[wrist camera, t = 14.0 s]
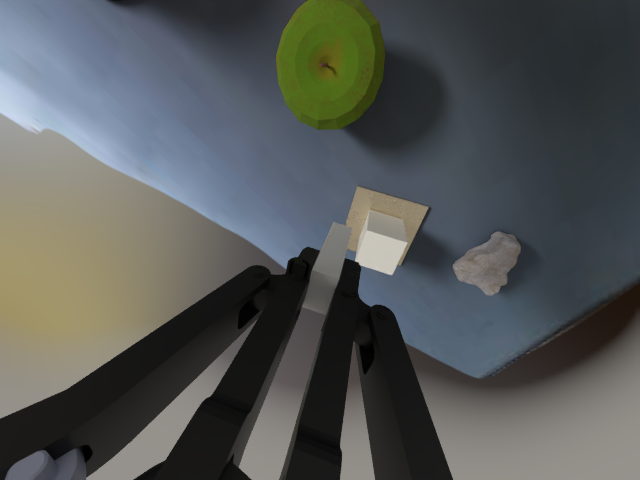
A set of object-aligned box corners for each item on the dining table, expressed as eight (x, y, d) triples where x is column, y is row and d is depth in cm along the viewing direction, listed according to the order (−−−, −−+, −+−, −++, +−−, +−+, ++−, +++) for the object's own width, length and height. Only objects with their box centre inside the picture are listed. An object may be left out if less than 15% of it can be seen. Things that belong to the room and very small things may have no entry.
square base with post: (357, 185, 41) (352, 202, 33) (428, 206, 40) (439, 228, 32) (339, 244, 47) (330, 270, 39) (400, 264, 46) (403, 294, 38)
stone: (444, 268, 44) (452, 287, 39) (474, 220, 40) (487, 235, 34) (488, 283, 44) (502, 305, 38) (524, 236, 39) (546, 254, 34)
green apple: (359, 139, 38) (351, 148, 28) (288, 107, 38) (255, 104, 28) (402, 43, 31) (410, 11, 22) (316, 5, 32) (287, -44, 22)
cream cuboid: (369, 209, 41) (366, 230, 34) (402, 219, 41) (407, 242, 33) (359, 238, 44) (354, 263, 37) (390, 247, 44) (391, 275, 36)
